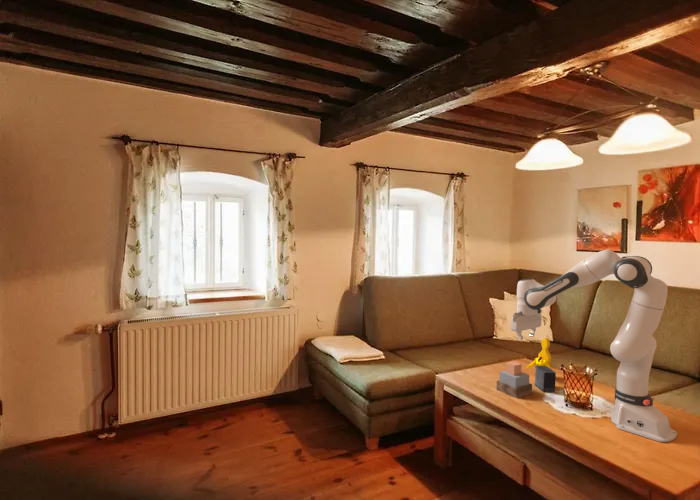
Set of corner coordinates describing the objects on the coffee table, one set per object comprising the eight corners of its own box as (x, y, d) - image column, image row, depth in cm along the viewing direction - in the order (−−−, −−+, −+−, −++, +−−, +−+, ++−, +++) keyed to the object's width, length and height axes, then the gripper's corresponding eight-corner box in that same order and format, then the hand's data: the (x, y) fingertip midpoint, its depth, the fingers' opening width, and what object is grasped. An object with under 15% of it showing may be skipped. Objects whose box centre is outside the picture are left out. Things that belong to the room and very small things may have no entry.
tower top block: (529, 384, 204) (529, 374, 204) (515, 387, 200) (515, 378, 199) (512, 377, 213) (512, 368, 213) (499, 381, 209) (499, 371, 208)
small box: (556, 392, 205) (556, 372, 205) (543, 392, 206) (543, 372, 205) (546, 384, 216) (547, 365, 215) (534, 384, 216) (534, 365, 215)
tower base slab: (532, 394, 205) (532, 384, 204) (516, 399, 199) (516, 389, 198) (511, 385, 215) (512, 376, 215) (496, 390, 209) (496, 381, 209)
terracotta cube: (521, 373, 205) (521, 364, 205) (514, 375, 203) (514, 365, 203) (513, 370, 210) (513, 361, 209) (506, 372, 207) (506, 362, 207)
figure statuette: (524, 373, 232) (524, 335, 231) (532, 371, 236) (533, 334, 234) (552, 384, 216) (553, 343, 215) (561, 381, 220) (562, 341, 219)
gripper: (518, 314, 195) (518, 342, 196) (543, 309, 206) (543, 336, 207) (507, 312, 201) (507, 339, 201) (532, 307, 211) (532, 333, 212)
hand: (526, 337), depth 204 cm, fingers open, 8 cm apart
